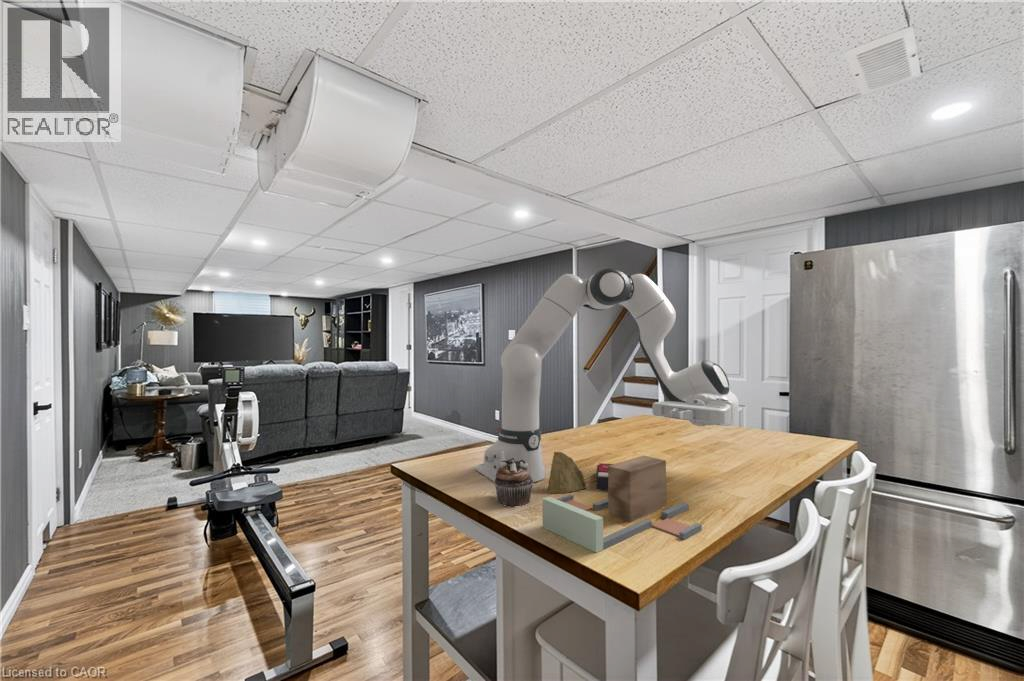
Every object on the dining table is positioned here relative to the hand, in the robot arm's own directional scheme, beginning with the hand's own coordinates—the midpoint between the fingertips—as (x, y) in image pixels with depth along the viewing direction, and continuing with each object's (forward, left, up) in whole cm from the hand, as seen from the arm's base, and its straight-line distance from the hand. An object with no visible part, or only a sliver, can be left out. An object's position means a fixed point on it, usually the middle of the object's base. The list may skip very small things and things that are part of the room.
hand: (674, 415), depth 110 cm
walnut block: (0, -16, -20) cm, 26 cm away
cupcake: (-23, -35, -21) cm, 46 cm away
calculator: (-16, -3, -21) cm, 27 cm away
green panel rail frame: (0, -23, -20) cm, 30 cm away
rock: (-20, -19, -21) cm, 34 cm away
